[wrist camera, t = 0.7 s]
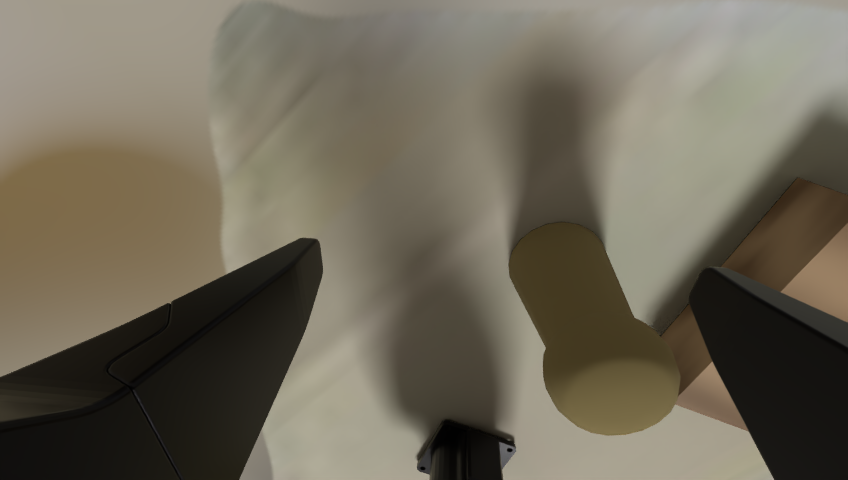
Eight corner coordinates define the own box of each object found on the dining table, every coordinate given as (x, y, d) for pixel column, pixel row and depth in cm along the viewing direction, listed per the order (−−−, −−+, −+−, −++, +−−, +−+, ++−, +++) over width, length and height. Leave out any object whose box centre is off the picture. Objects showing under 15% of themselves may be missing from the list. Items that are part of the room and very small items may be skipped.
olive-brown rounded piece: (490, 254, 25) (512, 387, 15) (578, 203, 23) (671, 316, 13) (538, 319, 26) (586, 476, 16) (623, 277, 24) (734, 426, 15)
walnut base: (811, 420, 28) (863, 473, 25) (643, 357, 27) (671, 403, 23) (1002, 267, 22) (1107, 308, 19) (797, 177, 21) (867, 202, 17)
